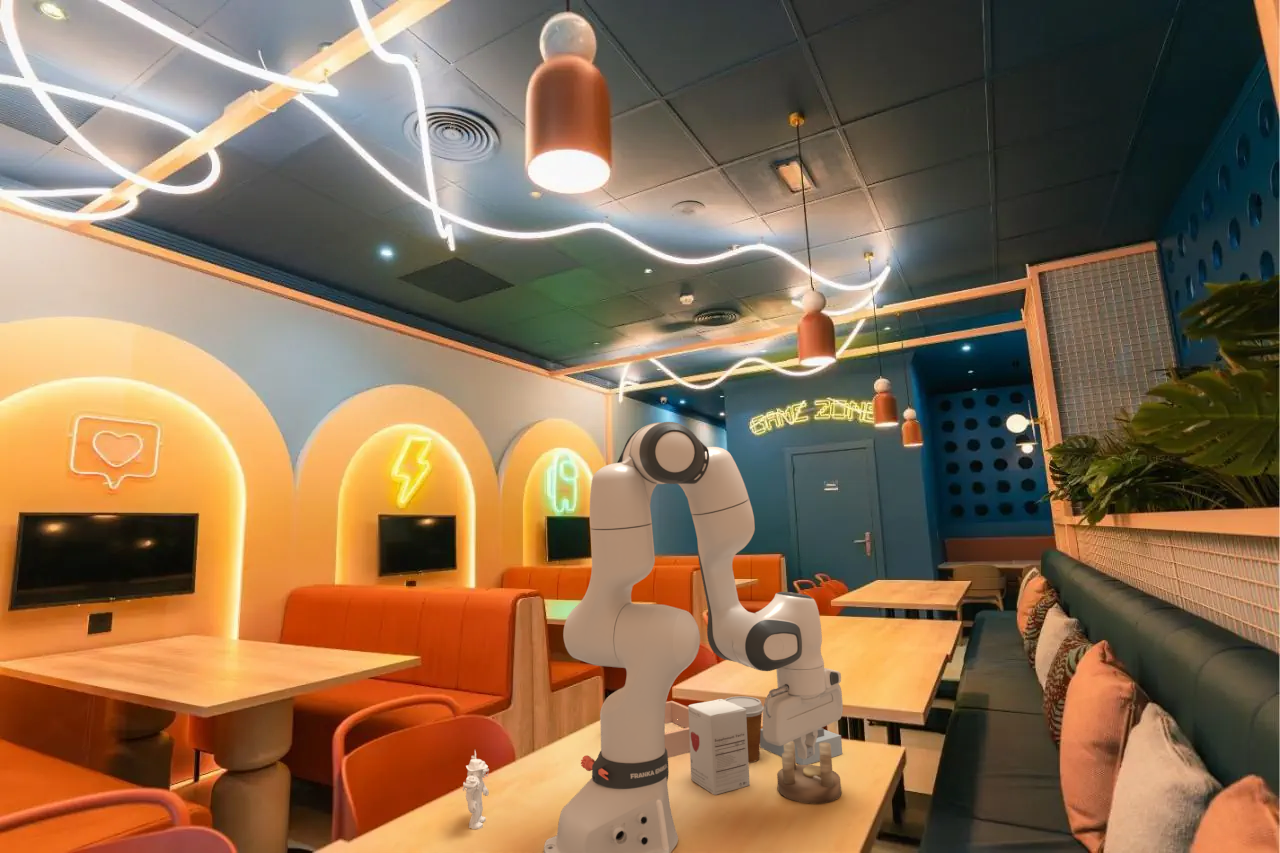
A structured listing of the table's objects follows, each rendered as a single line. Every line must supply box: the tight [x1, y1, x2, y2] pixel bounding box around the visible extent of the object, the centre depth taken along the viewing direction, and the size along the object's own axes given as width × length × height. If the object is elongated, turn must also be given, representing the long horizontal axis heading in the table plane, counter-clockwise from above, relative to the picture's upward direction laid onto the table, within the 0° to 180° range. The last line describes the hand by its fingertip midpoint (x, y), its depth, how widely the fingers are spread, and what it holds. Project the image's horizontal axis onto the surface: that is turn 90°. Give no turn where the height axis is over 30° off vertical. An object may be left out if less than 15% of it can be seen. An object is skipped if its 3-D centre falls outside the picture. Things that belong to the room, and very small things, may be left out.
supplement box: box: [687, 698, 751, 796], centre depth 132 cm, size 9×9×15 cm
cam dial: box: [776, 741, 842, 804], centre depth 126 cm, size 12×12×8 cm
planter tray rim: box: [665, 700, 690, 758], centre depth 158 cm, size 21×22×5 cm
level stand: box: [760, 727, 843, 765], centre depth 148 cm, size 12×14×6 cm
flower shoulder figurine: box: [462, 750, 490, 830], centre depth 117 cm, size 9×4×12 cm, turn 178°
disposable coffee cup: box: [724, 695, 764, 763], centre depth 145 cm, size 10×10×12 cm
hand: (806, 756), depth 119 cm, fingers closed
